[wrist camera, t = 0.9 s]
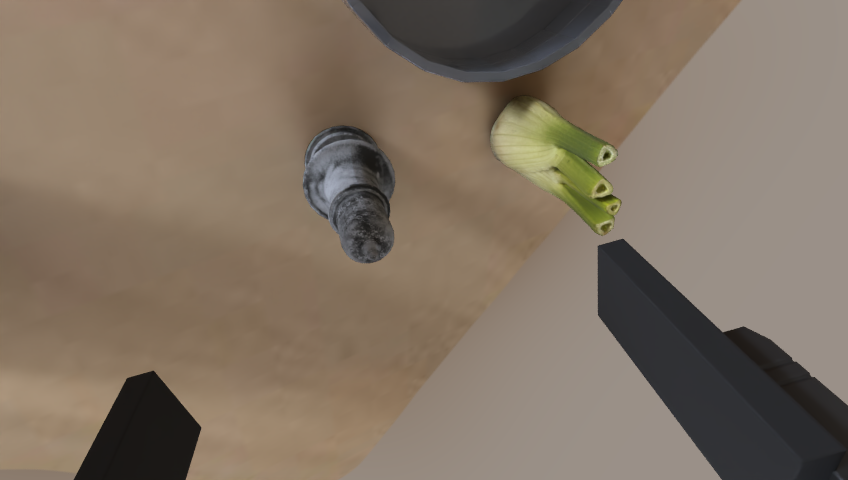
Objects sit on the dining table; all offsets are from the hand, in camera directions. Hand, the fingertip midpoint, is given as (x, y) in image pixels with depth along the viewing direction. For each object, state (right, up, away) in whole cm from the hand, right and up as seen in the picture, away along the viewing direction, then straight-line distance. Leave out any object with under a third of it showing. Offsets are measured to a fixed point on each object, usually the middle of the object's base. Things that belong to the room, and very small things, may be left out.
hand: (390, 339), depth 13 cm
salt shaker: (-5, +9, +18) cm, 20 cm away
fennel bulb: (+8, +12, +20) cm, 25 cm away
